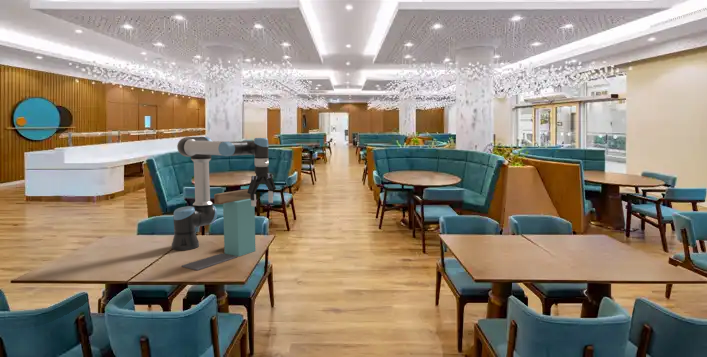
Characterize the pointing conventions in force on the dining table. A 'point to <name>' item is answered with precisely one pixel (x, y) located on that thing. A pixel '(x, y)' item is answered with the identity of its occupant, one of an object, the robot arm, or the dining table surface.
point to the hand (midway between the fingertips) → (262, 204)
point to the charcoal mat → (209, 261)
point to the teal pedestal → (239, 227)
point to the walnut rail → (231, 196)
